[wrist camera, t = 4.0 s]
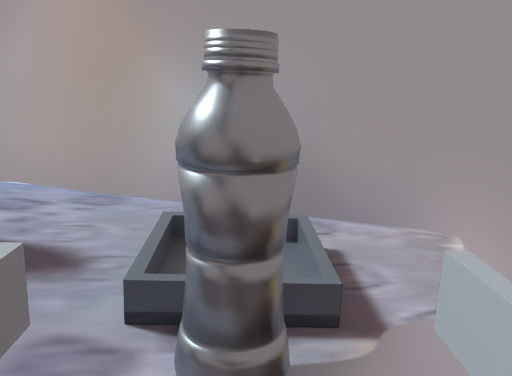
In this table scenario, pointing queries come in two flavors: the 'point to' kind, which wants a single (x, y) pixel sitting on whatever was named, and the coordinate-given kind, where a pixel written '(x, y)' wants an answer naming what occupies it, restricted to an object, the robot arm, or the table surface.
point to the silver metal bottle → (236, 211)
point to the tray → (174, 273)
